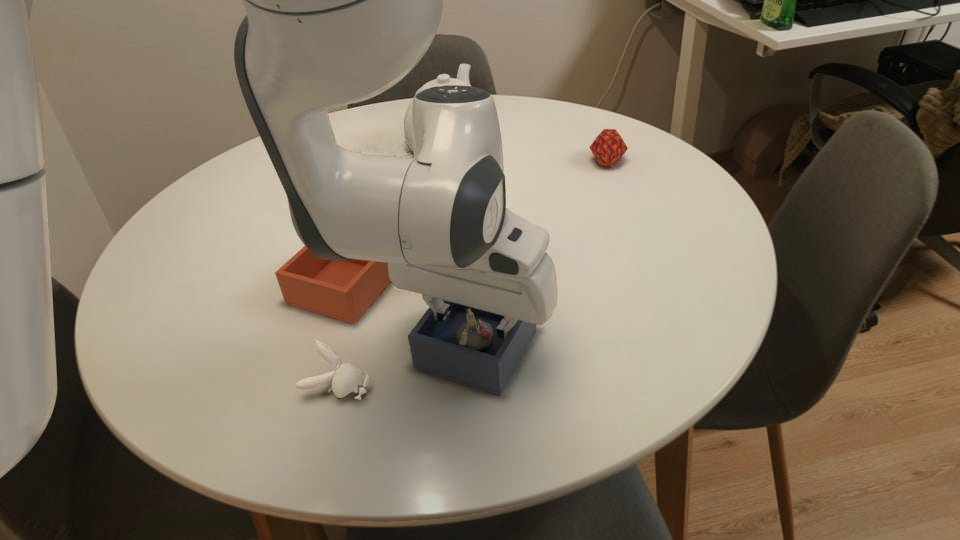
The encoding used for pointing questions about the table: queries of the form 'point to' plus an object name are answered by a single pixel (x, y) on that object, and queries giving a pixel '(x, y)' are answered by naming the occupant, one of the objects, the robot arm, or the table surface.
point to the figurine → (475, 333)
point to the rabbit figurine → (336, 375)
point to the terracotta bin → (332, 285)
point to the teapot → (440, 81)
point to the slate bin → (477, 369)
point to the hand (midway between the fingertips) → (473, 327)
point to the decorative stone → (608, 147)
